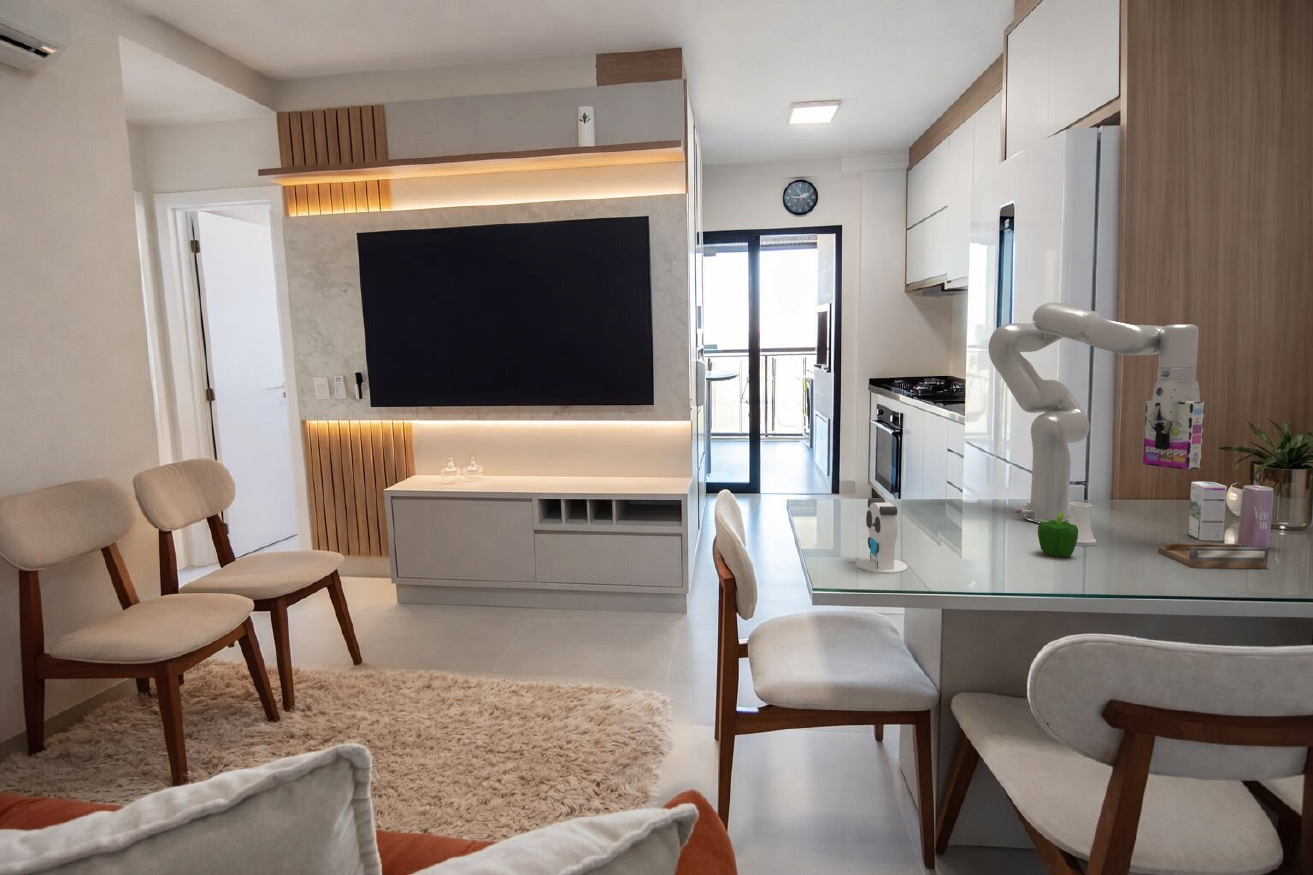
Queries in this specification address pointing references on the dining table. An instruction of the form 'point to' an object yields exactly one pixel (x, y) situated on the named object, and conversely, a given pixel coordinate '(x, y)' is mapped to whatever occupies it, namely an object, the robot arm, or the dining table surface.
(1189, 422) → the candy bar box
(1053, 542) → the bell pepper
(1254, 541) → the beverage can
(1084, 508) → the vase
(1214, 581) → the dining table surface
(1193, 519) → the syrup box
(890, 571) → the panda figurine
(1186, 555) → the wooden tray
